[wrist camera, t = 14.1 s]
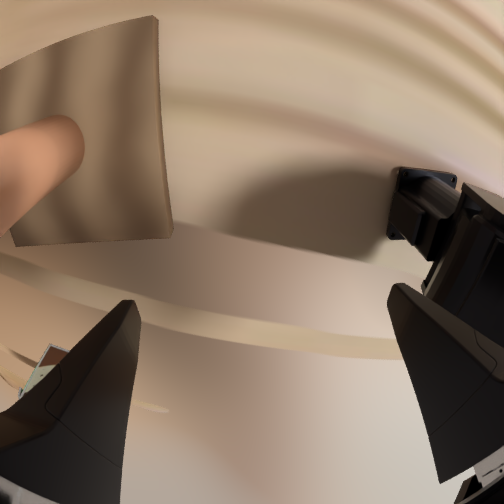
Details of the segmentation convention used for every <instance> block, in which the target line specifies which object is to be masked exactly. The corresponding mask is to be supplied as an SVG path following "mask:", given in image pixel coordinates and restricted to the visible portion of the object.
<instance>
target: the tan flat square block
mask: <svg viewBox="0 0 504 504" xmlns="http://www.w3.org/2000/svg"><path fill="white" fill-rule="evenodd" d="M52 115H65V116H67V117H69V118H71V119H72V120H74V121H75V122H76V124H77V125H78V126H79V128H80V130H81V132H82V134H83V138H84V143H85V153H84V158H83V161H82V164H81V166H80V167H79V169H78V170H77V171H76V172H75V173H74V174H73V175H72V176H71V177H69V178H68V179H67V180H65V181H64V182H63V183H61V184H60V185H59V186H58V187H56V188H55V189H54V190H53V191H51V192H50V193H49V194H48V195H47V196H45V197H44V198H43V199H42V200H41V201H39V202H38V203H37V204H36V205H35V206H34V207H32V208H31V209H30V210H29V211H28V212H27V213H26V214H25V215H23V216H22V217H21V218H20V219H19V220H18V221H17V222H16V223H15V224H14V225H13V226H12V227H11V228H10V231H11V235H12V237H13V240H14V243H15V245H16V247H20V246H33V245H50V244H66V243H83V242H101V241H120V240H141V239H162V238H170V237H171V234H172V232H173V229H174V228H173V221H172V214H171V206H170V198H169V190H168V182H167V173H166V164H165V154H164V143H163V131H162V118H161V102H160V83H159V48H158V19H157V18H156V17H154V16H153V15H152V16H146V17H141V18H137V19H132V20H128V21H123V22H119V23H115V24H112V25H108V26H104V27H101V28H98V29H94V30H91V31H88V32H85V33H82V34H79V35H76V36H73V37H70V38H68V39H65V40H62V41H60V42H57V43H55V44H52V45H50V46H47V47H45V48H43V49H41V50H38V51H36V52H34V53H32V54H30V55H28V56H25V57H23V58H21V59H19V60H17V61H15V62H14V63H12V64H10V65H8V66H6V67H4V68H2V69H1V70H0V135H2V134H4V133H7V132H9V131H12V130H14V129H16V128H19V127H22V126H24V125H27V124H29V123H32V122H35V121H38V120H40V119H43V118H46V117H49V116H52Z"/></svg>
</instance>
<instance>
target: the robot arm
mask: <svg viewBox="0 0 504 504" xmlns="http://www.w3.org/2000/svg"><path fill="white" fill-rule="evenodd" d="M404 172H406V174H405V175H404V176H403V174H404ZM452 178H453V179H452ZM451 179H452V181H451ZM456 183H457V176H456V175H454V174H452V173H447V172H440V171H433V170H426V169H418V168H409V167H402V168H401V169H400V170H399V173H398V178H397V184H396V190H395V193H394V195H393V200H392V205H391V210H390V215H389V224H388V228H387V232H386V235H387V237H388V238H389V239H390V240H407V241H408V242H409V243H410V245H411V246H415V248H416V249H417V250H418V251H419V252H420V253H421V254H422V256H423V257H424V258H425V259H426V260H427V261H432V262H433V265H432V267H431V269H430V271H429V273H428V275H427V277H426V279H425V280H423V282H422V284H421V289H422V292H423V295H422V294H421V293H419V292H418V291H416V290H414V289H413V288H411V287H410V286H408V285H406V284H405V283H396V284H394V285H393V286H392V288H391V291H390V294H389V297H388V300H387V308H388V311H389V315H390V318H391V321H392V325H393V329H394V332H395V336H396V339H397V343H398V345H399V348H400V351H401V353H402V356H403V359H404V362H405V364H406V367H407V370H408V373H409V376H410V379H411V382H412V384H413V387H414V391H415V394H416V397H417V400H418V403H419V406H420V409H421V413H422V416H423V420H424V423H425V426H426V430H427V434H428V436H429V442H430V445H431V449H432V453H433V457H434V462H435V466H436V470H437V475H438V480H439V483H440V484H441V483H443V482H445V481H447V480H449V479H451V478H453V477H455V476H457V475H458V474H460V473H462V472H464V471H465V470H467V469H469V468H471V467H472V466H473V467H474V470H475V473H476V474H475V475H473V476H472V477H470V478H468V479H467V480H465V481H463V483H462V486H461V488H460V491H459V493H458V495H457V497H456V500H455V502H454V504H504V198H502V197H500V196H499V195H497V194H494V193H492V192H489V191H487V190H484V189H481V188H479V187H476V186H473V185H471V184H468V183H465V182H463V185H462V188H461V190H462V192H461V193H460V192H458V191H457V190H455V187H456ZM393 232H394V233H393ZM391 233H393V234H392V235H391ZM140 330H141V317H140V314H139V311H138V309H137V306H136V303H135V301H134V300H122V301H121V302H120V303H119V304H118V305H117V306H116V307H114V308H113V309H112V310H111V311H110V312H109V313H108V314H107V315H106V316H105V317H104V318H103V319H102V320H101V321H100V322H99V323H98V324H97V325H96V326H95V327H94V328H93V329H92V330H90V331H89V332H88V333H87V334H86V335H85V336H84V338H82V339H81V340H80V341H79V342H78V343H77V344H76V345H75V346H74V347H73V348H72V349H71V350H70V351H69V352H68V353H67V354H66V355H65V356H64V357H63V358H62V359H61V360H60V362H59V363H57V364H56V365H55V366H54V368H53V369H52V370H51V371H50V372H49V373H48V374H47V375H46V376H45V377H44V378H43V379H41V380H40V381H39V382H38V383H37V384H36V385H35V386H34V387H33V388H32V389H30V390H29V391H28V392H27V393H26V394H25V395H24V396H23V397H21V398H20V399H19V400H18V401H17V402H16V403H15V404H14V405H13V406H11V407H10V408H9V409H7V410H6V411H3V412H1V413H0V504H120V491H121V478H122V465H123V455H124V446H125V438H126V430H127V422H128V416H129V409H130V403H131V397H132V390H133V385H134V379H135V374H136V369H137V362H138V353H139V352H138V351H139V339H140Z"/></svg>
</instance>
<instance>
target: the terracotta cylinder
mask: <svg viewBox="0 0 504 504" xmlns="http://www.w3.org/2000/svg"><path fill="white" fill-rule="evenodd" d="M84 153H85V143H84V138H83V134H82V132H81V130H80V128H79V126H78V125H77V124H76V122H75V121H74V120H72V119H71V118H69V117H67V116H65V115H52V116H49V117H46V118H43V119H40V120H38V121H35V122H32V123H29V124H27V125H24V126H22V127H19V128H16V129H14V130H12V131H9V132H7V133H4V134H2V135H0V237H1V236H2V235H3V234H4V233H5V232H6V231H7V230H9V229H10V228H11V227H12V226H13V225H14V224H15V223H16V222H17V221H18V220H19V219H20V218H21V217H22V216H23V215H25V214H26V213H27V212H28V211H29V210H30V209H31V208H32V207H34V206H35V205H36V204H37V203H38V202H39V201H41V200H42V199H43V198H44V197H45V196H47V195H48V194H49V193H50V192H51V191H53V190H54V189H55V188H56V187H58V186H59V185H60V184H61V183H63V182H64V181H65V180H67V179H68V178H69V177H71V176H72V175H73V174H74V173H75V172H76V171H77V170H78V169H79V167H80V166H81V164H82V161H83V158H84Z"/></svg>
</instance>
